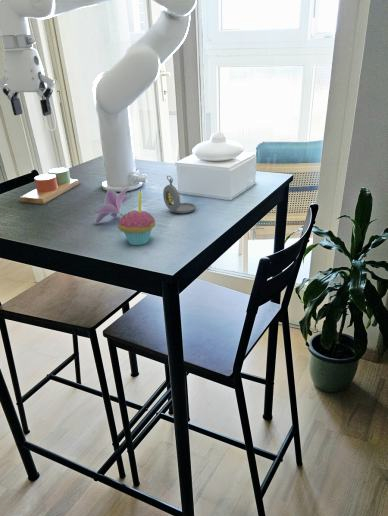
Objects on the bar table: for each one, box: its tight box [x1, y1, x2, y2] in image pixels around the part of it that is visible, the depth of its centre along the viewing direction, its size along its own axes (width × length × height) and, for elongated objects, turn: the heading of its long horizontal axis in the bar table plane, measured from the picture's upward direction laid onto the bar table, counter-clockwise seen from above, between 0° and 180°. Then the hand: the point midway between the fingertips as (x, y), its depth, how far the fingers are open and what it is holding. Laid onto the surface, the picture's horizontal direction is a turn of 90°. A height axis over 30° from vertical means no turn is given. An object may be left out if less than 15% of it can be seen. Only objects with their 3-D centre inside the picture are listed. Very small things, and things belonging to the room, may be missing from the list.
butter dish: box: [174, 131, 257, 201], centre depth 141 cm, size 18×18×16 cm
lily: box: [94, 187, 132, 225], centre depth 122 cm, size 12×12×10 cm
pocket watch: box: [162, 175, 196, 214], centre depth 127 cm, size 8×8×10 cm
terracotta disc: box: [33, 173, 58, 192], centre depth 146 cm, size 6×6×4 cm
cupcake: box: [118, 188, 156, 246], centre depth 110 cm, size 9×8×12 cm
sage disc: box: [47, 167, 72, 185], centre depth 152 cm, size 6×6×4 cm
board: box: [19, 178, 80, 205], centre depth 148 cm, size 8×20×2 cm, turn 161°
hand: (32, 114), depth 136 cm, fingers open, 9 cm apart
